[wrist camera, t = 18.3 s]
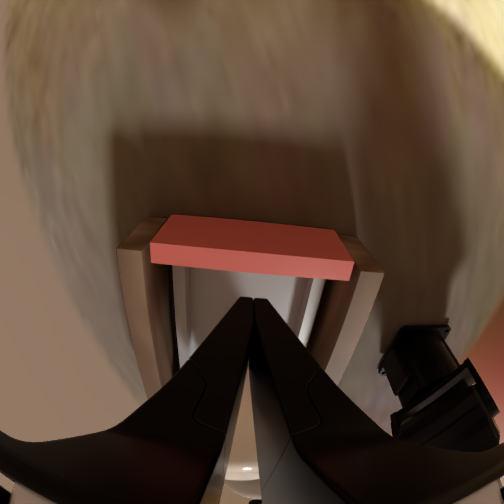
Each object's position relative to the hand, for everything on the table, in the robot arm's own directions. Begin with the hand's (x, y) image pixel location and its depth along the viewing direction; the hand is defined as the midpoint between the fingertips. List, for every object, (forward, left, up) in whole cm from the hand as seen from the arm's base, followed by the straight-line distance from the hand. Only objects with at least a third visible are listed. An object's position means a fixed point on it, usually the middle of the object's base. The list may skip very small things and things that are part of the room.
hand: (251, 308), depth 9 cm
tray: (0, +9, -11) cm, 14 cm away
